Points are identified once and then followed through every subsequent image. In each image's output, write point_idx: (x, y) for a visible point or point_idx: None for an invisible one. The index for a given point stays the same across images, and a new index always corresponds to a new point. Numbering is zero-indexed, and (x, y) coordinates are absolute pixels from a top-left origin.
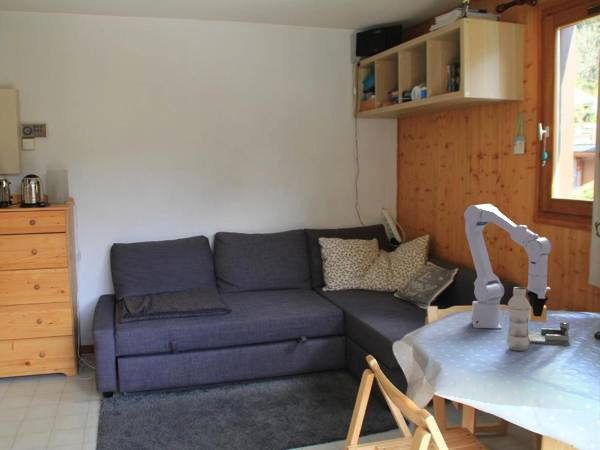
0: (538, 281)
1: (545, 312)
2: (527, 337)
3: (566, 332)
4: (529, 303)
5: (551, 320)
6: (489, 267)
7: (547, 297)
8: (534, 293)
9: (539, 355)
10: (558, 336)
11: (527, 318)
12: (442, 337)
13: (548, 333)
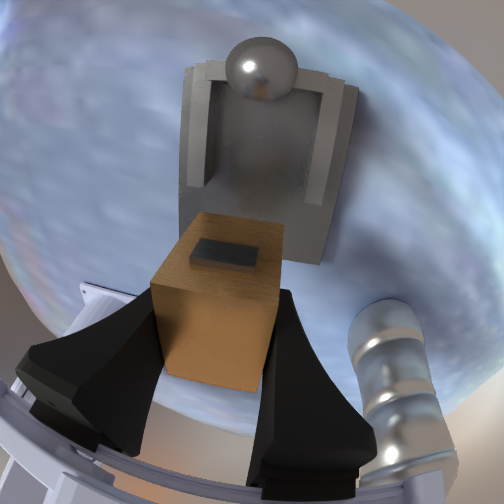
0: None
1: (279, 276)
2: (421, 340)
3: (325, 84)
4: (451, 474)
5: (20, 93)
6: (20, 479)
7: (367, 455)
8: (120, 434)
9: (443, 273)
10: (333, 137)
11: (440, 411)
12: (251, 416)
13: (212, 145)
